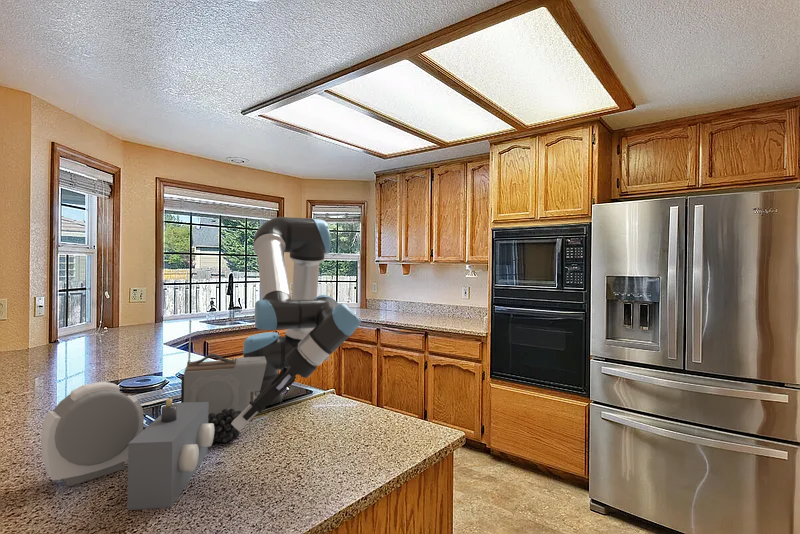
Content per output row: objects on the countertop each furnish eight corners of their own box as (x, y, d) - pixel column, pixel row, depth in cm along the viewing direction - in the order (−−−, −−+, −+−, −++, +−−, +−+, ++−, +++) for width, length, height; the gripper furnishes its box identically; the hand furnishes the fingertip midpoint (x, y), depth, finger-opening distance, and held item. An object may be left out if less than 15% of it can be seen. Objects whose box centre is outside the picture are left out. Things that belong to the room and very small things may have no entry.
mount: (173, 454, 106) (174, 402, 106) (207, 453, 107) (208, 401, 107) (127, 510, 82) (128, 443, 82) (171, 507, 84) (172, 441, 83)
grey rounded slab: (132, 454, 106) (133, 373, 106) (145, 465, 100) (146, 380, 100) (38, 482, 92) (40, 389, 92) (48, 496, 86) (50, 397, 86)
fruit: (181, 412, 110) (242, 407, 114) (188, 412, 118) (245, 407, 122) (179, 448, 108) (242, 441, 112) (186, 445, 115) (245, 439, 119)
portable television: (265, 421, 130) (267, 323, 129) (178, 431, 121) (180, 325, 121) (263, 408, 141) (264, 318, 140) (182, 416, 132) (184, 320, 132)
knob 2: (182, 442, 103) (182, 420, 103) (214, 441, 104) (214, 419, 104) (174, 451, 98) (174, 429, 98) (207, 450, 99) (208, 428, 99)
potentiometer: (164, 417, 96) (164, 397, 96) (178, 417, 96) (178, 397, 96) (158, 422, 93) (159, 401, 93) (173, 422, 93) (173, 401, 93)
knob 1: (162, 465, 91) (162, 441, 91) (198, 463, 92) (198, 440, 92) (151, 477, 86) (152, 452, 86) (190, 475, 87) (190, 450, 87)
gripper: (316, 373, 98) (240, 448, 96) (319, 360, 111) (252, 426, 109) (293, 351, 97) (216, 426, 95) (299, 340, 110) (231, 406, 108)
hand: (235, 426), depth 102 cm, fingers closed
